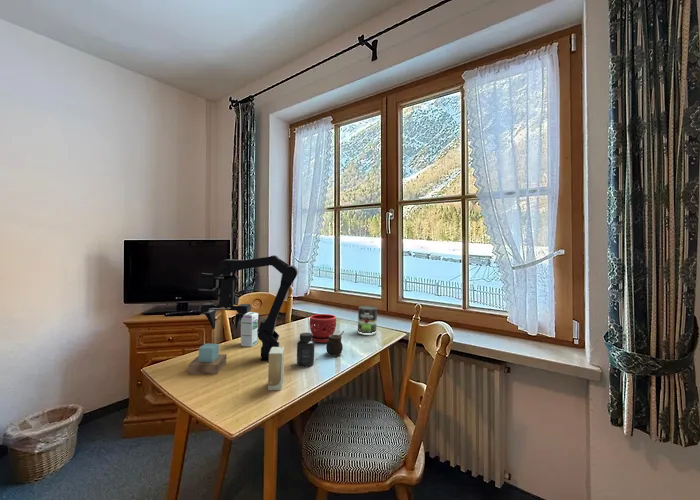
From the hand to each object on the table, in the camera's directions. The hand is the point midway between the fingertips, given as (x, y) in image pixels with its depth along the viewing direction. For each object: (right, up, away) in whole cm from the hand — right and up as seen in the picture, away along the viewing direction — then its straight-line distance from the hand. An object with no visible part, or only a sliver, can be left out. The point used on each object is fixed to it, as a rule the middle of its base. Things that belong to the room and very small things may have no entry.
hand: (225, 329), depth 123 cm
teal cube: (-2, -9, -10) cm, 13 cm away
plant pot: (+37, -13, +28) cm, 48 cm away
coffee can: (+60, -14, +42) cm, 74 cm away
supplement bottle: (+33, -13, -3) cm, 35 cm away
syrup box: (+4, -12, +18) cm, 22 cm away
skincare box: (+26, -14, -22) cm, 36 cm away
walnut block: (-2, -13, -10) cm, 16 cm away
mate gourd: (+44, -14, +9) cm, 47 cm away
